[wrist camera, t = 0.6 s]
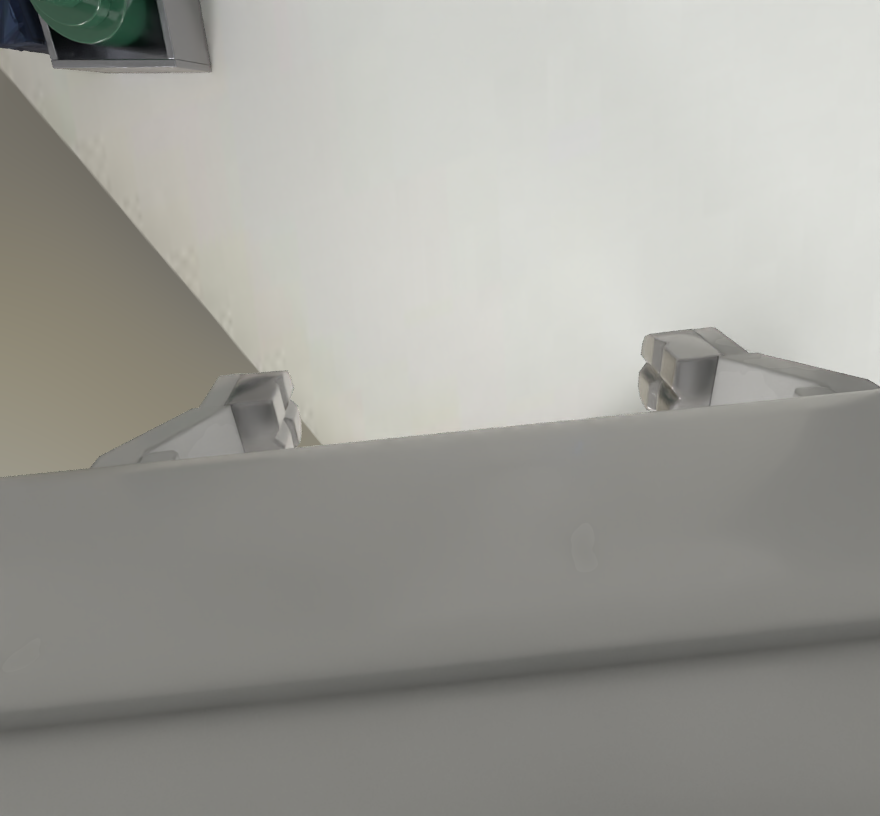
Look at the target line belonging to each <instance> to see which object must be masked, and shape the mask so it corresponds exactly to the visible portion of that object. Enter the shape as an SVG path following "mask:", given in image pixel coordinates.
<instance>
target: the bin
mask: <svg viewBox="0 0 880 816" xmlns="http://www.w3.org/2000/svg"><path fill="white" fill-rule="evenodd" d="M156 3H157V8H158V13H159V18H160V22H161V27H162V32H163V37H164V42H165V47H166V52H167V53H164V54H161V55H147V54H141V53H136V52H130V51H124V50H119V49H113V48H107V47H101V46H96V45H90V44H84V43H80V42H76V41H73V40H70V39H68V38H66V37H64V36H62V35H61V34H59V33H57V32H56V31H55V30H54V29H52V28H51V27H50V26H49V25H48V24H47V23H46V22H45V21H44V20H43V19H42V18H41V16H40V15H39V14H38V17H39V20H40V24H41V27H42V31H43V34H44V37H45V41H46V44H47V48H48V51H49V55H50V58H51V62H52V65H53V68H57V69H68V70H79V71H91V72H102V73H193V72H212V69H211V64H210V58H209V52H208V47H207V41H206V35H205V29H204V24H203V18H202V12H201V6H200V1H199V0H156ZM37 13H38V12H37Z"/></svg>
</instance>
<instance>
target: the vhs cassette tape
mask: <svg viewBox="0 0 880 816" xmlns="http://www.w3.org/2000/svg"><path fill="white" fill-rule="evenodd" d="M0 48H6V49H8V48H10V49H14V50H19V51H23V50H25V51H30V52H33V51H34V52H38V53H45V54H49V51H48V48H47V44H46V41H45V37H44V34H43V31H42V27H41V24H40V20H39V17H38V13H37V11H36V10H35V8H34V6H33V5H32V3H31V1H30V0H0Z"/></svg>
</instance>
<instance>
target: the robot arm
mask: <svg viewBox="0 0 880 816" xmlns="http://www.w3.org/2000/svg"><path fill="white" fill-rule="evenodd" d="M641 355H642V356H643V358H644V359H645V361H646V362H647V363H646V364H645V365H644V367H643V368H642V369H641V370H640V372H639V380H638V388H639V395H640V398H641V401H642V404H643V405H644V406H645V408H646V409H647V410H649V411H651V412H645V413H635V414H625V415H615V416H605V417H596V418H586V419H576V420H566V421H556V422H546V423H536V424H526V425H516V426H506V427H496V428H486V429H477V430H467V431H457V432H447V433H437V434H427V435H417V436H407V437H397V438H387V439H377V440H368V441H358V442H348V443H338V444H328V445H319V446H308V447H299V448H295V447H297V446H298V445H299V444H300V440H301V418H300V412H299V408H298V405H296V404H295V403H294V402H293V401H292V400H291V396H292V393H293V390H294V387H293V383H292V379H291V376H290V374H289V372H288V370H285V371H273V372H261V373H248V374H242V373H240V374H231V375H223V376H219V377H218V379H217V380H216V382H215V383H214V385H213V386H212V388H211V389H210V391H209V393H208V394H207V396H206V397H205V399H204V400H203V402H202V403H201V405H200V407H199V408H194V409H190V410H189V411H186V412H185V413H182V414H181V415H179V416H177V417H175V418H173V419H171V420H169V421H167V422H165V423H163V424H161V425H159V426H157V427H155V428H153V429H151V430H150V431H147V432H146V433H144V434H142V435H140V436H138V437H136V438H134V439H132V440H130V441H128V442H126V443H124V444H122V445H121V446H118V447H116V448H115V449H113V450H111V451H109V452H107V453H105V454H103V455H101V456H99V457H98V459H97V460H96V461H95V462H94V463H93V465H92V466H91V467H90V468H89V469H79V470H68V471H59V472H48V473H38V474H29V475H18V476H8V477H0V816H880V387H879V386H878V385H876V384H875V383H873V382H871V381H870V380H868V379H864V378H859V377H855V376H851V375H847V374H843V373H839V372H835V371H830V370H826V369H822V368H818V367H814V366H810V365H805V364H801V363H797V362H793V361H789V360H785V359H781V358H776V357H772V356H768V355H764V354H760V353H748V352H747V351H746V350H744V349H743V348H742V347H740V346H739V345H738V344H736V343H735V342H734V341H732V340H731V339H730V338H728V337H727V336H726V335H724V334H723V333H722V332H720V331H719V330H718V329H716V328H714V327H708V328H700V329H693V330H692V329H687V330H679V331H671V332H662V333H654V334H649V335H647V336H645V337H644V340H643V343H642V350H641Z"/></svg>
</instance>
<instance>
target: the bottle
mask: <svg viewBox="0 0 880 816" xmlns="http://www.w3.org/2000/svg"><path fill="white" fill-rule="evenodd" d="M30 1H31V3H32V5H33V6H34V8H35V10H36V11H37V12H38V14H39V15H40V16H41V18H42V19H43V20H44V21H45V22H46V23H47V24H48V25H49V26H50V27H51V28H52V29H54V30H55V31H56V32H57V33H59V34H61V35H62V36H64V37H66V38H68V39H70V40H73V41H76V42H80V43H84V44H90V45H96V46H101V47H107V48H113V49H119V50H124V51H130V52H136V53H141V54H147V55H161V54H164V53H167V52H166V47H165V42H164V37H163V32H162V27H161V22H160V18H159V13H158V8H157V3H156V0H30Z"/></svg>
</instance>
